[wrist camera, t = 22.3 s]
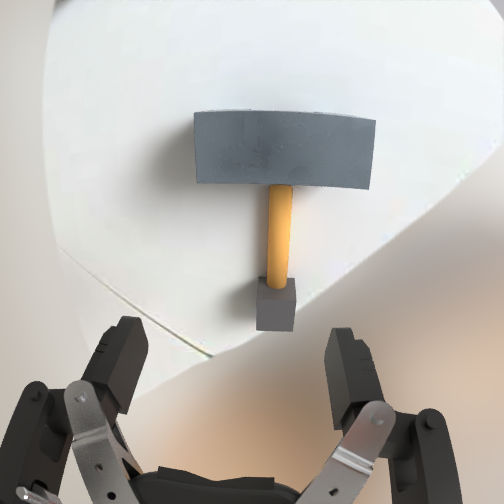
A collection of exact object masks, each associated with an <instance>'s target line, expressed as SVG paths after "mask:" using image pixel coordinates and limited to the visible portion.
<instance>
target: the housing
mask: <svg viewBox="0 0 504 504" xmlns="http://www.w3.org/2000/svg"><path fill="white" fill-rule="evenodd" d="M375 124H376V120H372V119H367V118H362V117H357V116H351V115H343V114H333V113H323V112H314V113H310V112H294V111H267V110H251V109H232V110H209V111H202V112H195V113H194V132H195V156H196V175H197V183H254V184H288V185H310V186H327V187H342V188H355V189H367V190H369V184H370V176H371V168H372V159H373V149H374V137H375Z"/></svg>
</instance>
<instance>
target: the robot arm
mask: <svg viewBox="0 0 504 504" xmlns="http://www.w3.org/2000/svg"><path fill="white" fill-rule="evenodd" d="M147 354H148V340H147V337H146V334H145V331H144V328H143V324H142V321H141V319H140V318H139V317H130V316H122V317H121V319H120V321H119V323H118V325H117V327H116V326H111V327H110V328H109V329H108V330H107V331H106V332H105V333H104V334H103V336H102V338H101V340H100V341H99V345H97V347H96V349H95V352H94V353H93V355H92V357H91V360H90V362H89V363H88V365H87V368H86V370H85V372H84V374H83V376H82V378H81V380H78V381H74V382H72V383H71V384H70V385H69V386H68V387H67V388H66V389H48V388H47V387H46V385H45V384H44V383H42V382H40V381H34V382H31V383H30V384H28V385H27V386H26V387H25V389H24V390H23V392H22V395H21V397H20V399H19V401H18V404H17V406H16V408H15V411H14V413H13V415H12V418H11V420H10V423H9V425H8V428H7V431H6V434H5V436H4V439H3V441H2V445H1V447H0V504H62V503H61V501H60V499H59V498H58V494H59V489H60V485H61V480H62V477H63V473H64V468H65V464H66V461H67V457H68V453H69V450H70V447H71V444H72V449H73V452H74V455H75V458H76V461H77V464H78V467H79V470H80V472H81V475H82V478H83V480H84V483H85V485H86V488H87V490H88V493H89V495H90V497H91V500H92V501H93V504H352V503H353V501H354V500H355V499H356V497H357V496H358V494H359V492H360V491H361V489H362V488H363V486H364V485H365V483H366V482H367V480H368V478H369V477H370V475H371V473H372V470H373V468H372V466H373V464H374V462H375V460H376V459H377V457H381V458H388V464H389V472H390V482H391V493H392V504H463V503H462V495H461V489H460V483H459V478H458V472H457V467H456V463H455V457H454V453H453V449H452V444H451V440H450V436H449V432H448V428H447V425H446V421H445V418H444V416H443V415H442V414H441V413H440V412H439V411H437V410H435V409H431V408H429V409H424V410H422V411H421V412H420V413H419V414H418V415H414V414H406V413H401V412H397V411H395V410H394V409H393V408H392V407H391V406H390V405H389V404H388V403H386V402H385V400H384V397H383V393H382V390H381V386H380V382H379V379H378V376H377V372H376V369H375V365H374V362H373V361H372V356H371V353H370V349H369V347H368V346H367V345H366V344H365V343H364V341H363V340H355V339H354V336H353V332H352V330H351V328H333V329H332V330H331V334H330V337H329V340H328V344H327V347H326V351H325V357H324V362H325V370H326V376H327V383H328V389H329V396H330V403H331V410H332V417H333V424H334V430H343V438H342V439H341V441H340V442H339V444H338V445H337V447H336V448H335V450H334V451H333V452H332V454H331V455H330V457H329V458H328V459H327V461H326V462H325V463H324V465H323V466H322V468H321V469H320V470H319V472H318V473H317V474H316V476H314V478H313V479H312V480H311V481H310V483H309V484H308V485H307V486H306V488H305V489H304V490H303V491H302V492H301V494H300V493H299V492H297V491H296V490H294V489H292V488H290V487H288V486H286V485H283V484H279V483H275V482H274V477H271V478H267V477H242V478H235V479H228V480H221V481H212V480H209V479H206V478H203V477H200V476H198V475H195V474H192V473H190V472H187V471H183V470H177V469H171V468H166V467H160V466H159V468H158V471H155V472H148V473H143V471H142V470H141V468H140V466H139V465H138V463H137V462H136V460H135V459H134V457H133V455H132V454H131V452H130V450H129V447H128V445H127V443H126V441H125V439H124V436H123V434H122V432H121V430H120V427H119V425H118V422H117V421H116V417H117V415H118V413H121V414H127V412H128V409H129V406H130V403H131V400H132V397H133V394H134V391H135V388H136V385H137V382H138V379H139V376H140V374H141V371H142V368H143V365H144V362H145V359H146V357H147ZM73 436H74V441H72V440H73Z"/></svg>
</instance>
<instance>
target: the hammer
mask: <svg viewBox="0 0 504 504" xmlns="http://www.w3.org/2000/svg"><path fill="white" fill-rule="evenodd" d="M291 208H292V187H291V186H288V185H272V186H270V188H269V229H268V263H267V277H259V280H258V291H257V322H256V330H258V331H290V332H291V331H293V325H294V316H295V308H296V290H295V280H294V278H287V269H288V255H289V241H290V225H291Z"/></svg>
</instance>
